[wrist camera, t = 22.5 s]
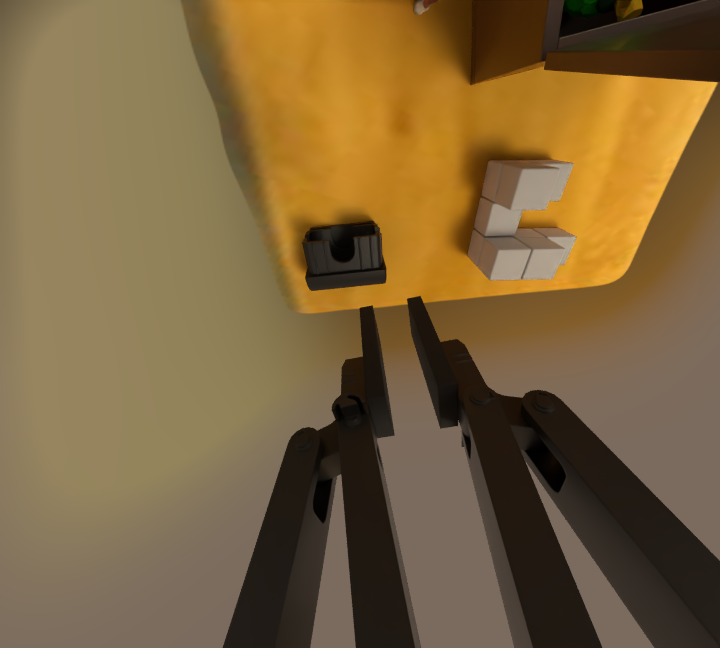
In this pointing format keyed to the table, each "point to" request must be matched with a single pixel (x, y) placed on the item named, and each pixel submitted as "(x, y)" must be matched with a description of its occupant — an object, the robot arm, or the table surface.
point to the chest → (549, 31)
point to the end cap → (344, 256)
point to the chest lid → (650, 51)
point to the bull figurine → (422, 6)
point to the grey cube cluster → (502, 215)
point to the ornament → (603, 8)
